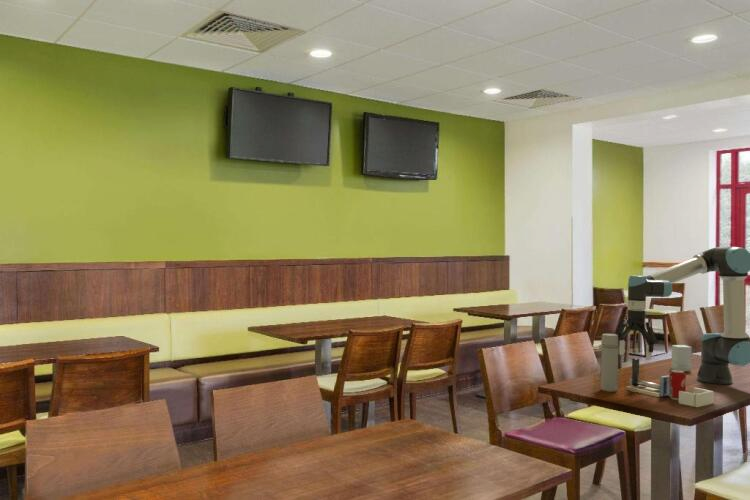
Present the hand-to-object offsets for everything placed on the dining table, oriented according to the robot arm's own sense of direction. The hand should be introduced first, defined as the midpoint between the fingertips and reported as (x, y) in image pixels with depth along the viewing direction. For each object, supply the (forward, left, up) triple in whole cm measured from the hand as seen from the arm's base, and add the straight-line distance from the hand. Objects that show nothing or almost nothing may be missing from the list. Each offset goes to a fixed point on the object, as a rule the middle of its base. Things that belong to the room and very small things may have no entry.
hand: (635, 357), depth 292 cm
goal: (0, +28, -15) cm, 32 cm away
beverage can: (0, +20, -15) cm, 25 cm away
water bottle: (+12, -6, -15) cm, 20 cm away
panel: (0, +6, -15) cm, 16 cm away
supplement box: (-62, -15, -15) cm, 66 cm away
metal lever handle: (0, +7, -14) cm, 16 cm away
